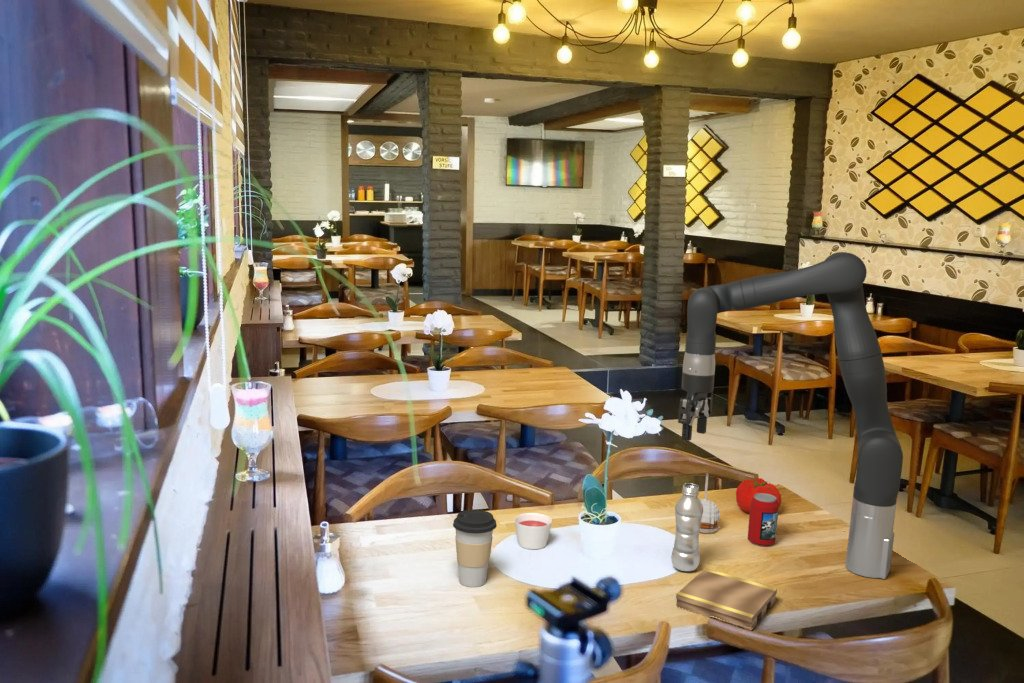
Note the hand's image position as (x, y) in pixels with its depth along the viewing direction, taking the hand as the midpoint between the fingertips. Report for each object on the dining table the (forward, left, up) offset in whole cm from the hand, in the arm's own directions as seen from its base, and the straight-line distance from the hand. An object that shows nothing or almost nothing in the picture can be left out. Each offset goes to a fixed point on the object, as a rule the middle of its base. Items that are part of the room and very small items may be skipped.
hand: (693, 436), depth 201 cm
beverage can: (-15, -13, -28) cm, 34 cm away
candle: (+29, +25, -28) cm, 47 cm away
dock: (-20, +25, -28) cm, 42 cm away
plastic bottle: (-6, +14, -28) cm, 32 cm away
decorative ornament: (0, -12, -28) cm, 30 cm away
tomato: (-7, -34, -28) cm, 44 cm away
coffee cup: (+28, +50, -28) cm, 64 cm away
